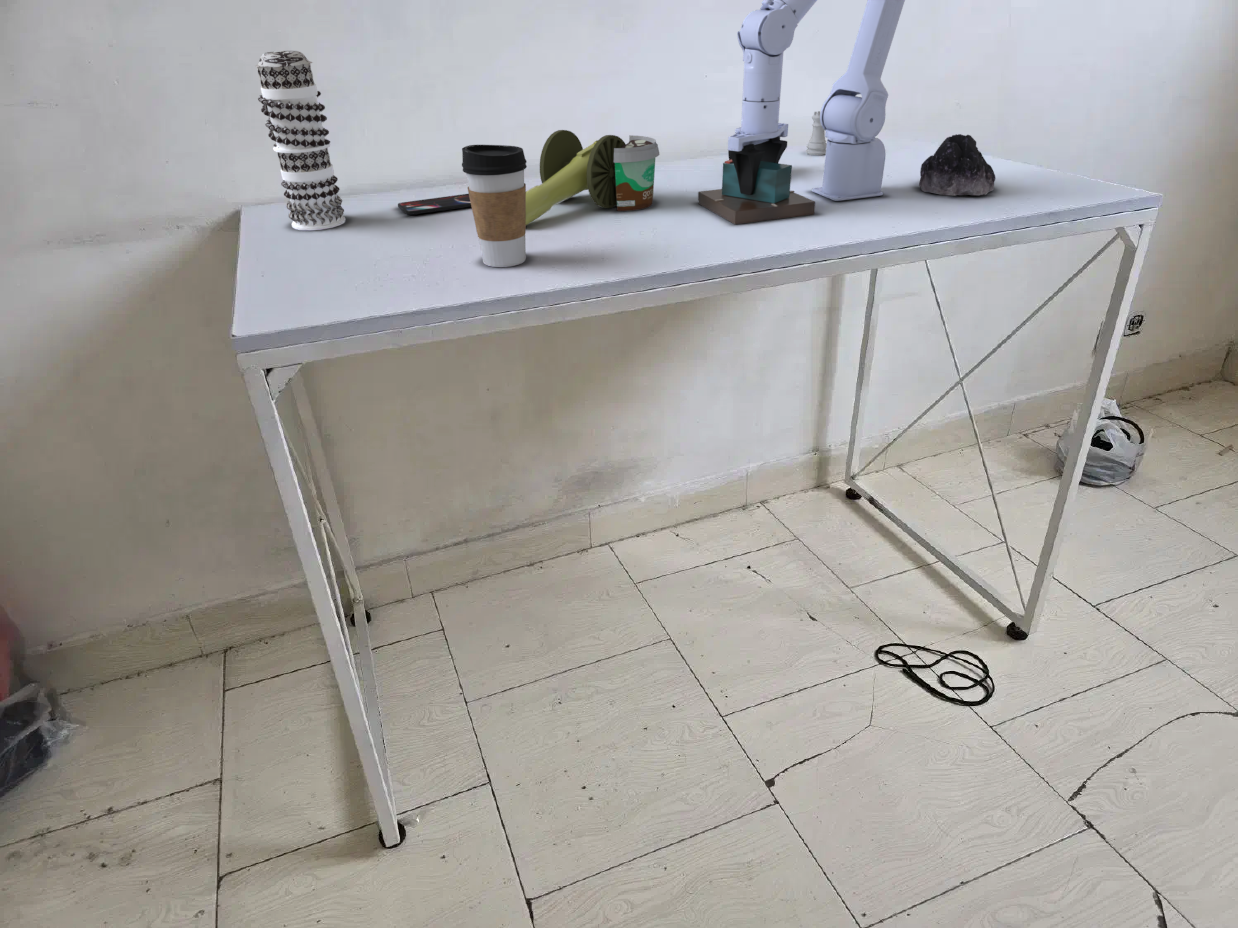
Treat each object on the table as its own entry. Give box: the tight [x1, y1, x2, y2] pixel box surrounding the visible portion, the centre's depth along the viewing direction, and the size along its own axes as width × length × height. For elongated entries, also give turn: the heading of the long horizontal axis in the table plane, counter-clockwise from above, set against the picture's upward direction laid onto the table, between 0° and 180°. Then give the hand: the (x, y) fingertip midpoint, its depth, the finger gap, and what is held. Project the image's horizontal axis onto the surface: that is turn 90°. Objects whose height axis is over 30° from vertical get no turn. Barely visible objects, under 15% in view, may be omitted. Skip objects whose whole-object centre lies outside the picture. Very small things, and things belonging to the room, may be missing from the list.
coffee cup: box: [461, 144, 528, 268], centre depth 108 cm, size 8×8×15 cm
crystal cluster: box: [918, 133, 997, 197], centre depth 137 cm, size 13×14×10 cm
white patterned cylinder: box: [254, 50, 346, 231], centre depth 125 cm, size 9×9×25 cm
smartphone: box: [397, 193, 472, 216], centre depth 138 cm, size 7×1×15 cm
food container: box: [614, 135, 660, 212], centre depth 134 cm, size 12×6×10 cm, turn 167°
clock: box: [697, 188, 816, 225], centre depth 131 cm, size 14×14×2 cm
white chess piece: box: [805, 110, 827, 156], centre depth 166 cm, size 4×4×8 cm
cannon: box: [526, 129, 626, 226], centre depth 131 cm, size 25×12×11 cm, turn 143°
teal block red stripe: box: [721, 159, 793, 203], centre depth 129 cm, size 10×5×5 cm, turn 50°
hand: (755, 190), depth 130 cm, fingers closed on teal block red stripe, 4 cm apart
